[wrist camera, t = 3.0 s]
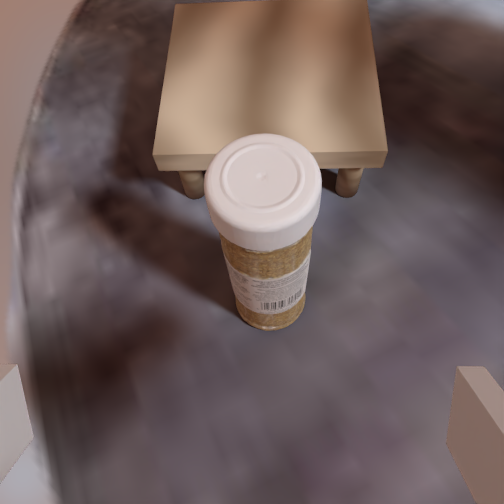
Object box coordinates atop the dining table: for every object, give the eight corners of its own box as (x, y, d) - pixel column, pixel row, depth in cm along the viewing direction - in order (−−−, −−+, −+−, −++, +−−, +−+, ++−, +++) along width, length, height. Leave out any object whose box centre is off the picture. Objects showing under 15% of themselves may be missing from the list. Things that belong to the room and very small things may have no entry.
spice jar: (300, 263, 30) (314, 123, 18) (309, 330, 28) (332, 222, 16) (232, 270, 30) (200, 133, 18) (236, 336, 28) (203, 234, 16)
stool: (354, 64, 37) (366, -4, 32) (369, 205, 31) (387, 151, 26) (190, 69, 38) (175, 3, 33) (173, 207, 32) (152, 154, 27)
